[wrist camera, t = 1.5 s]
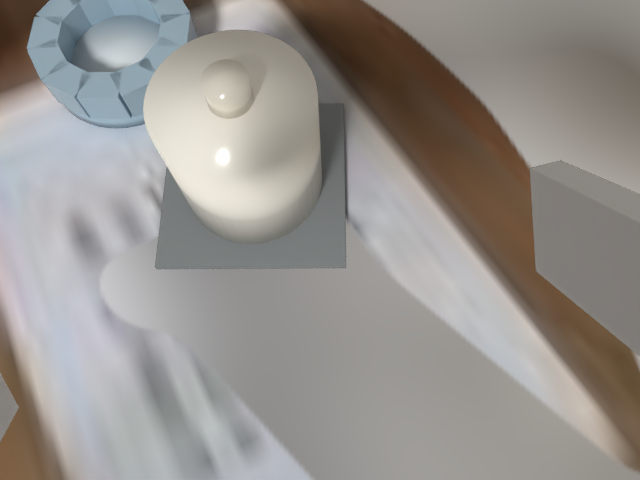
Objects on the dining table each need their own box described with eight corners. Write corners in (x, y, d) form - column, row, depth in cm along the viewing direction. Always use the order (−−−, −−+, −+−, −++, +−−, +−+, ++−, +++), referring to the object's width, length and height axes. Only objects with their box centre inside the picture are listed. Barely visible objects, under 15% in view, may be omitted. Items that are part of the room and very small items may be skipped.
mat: (157, 269, 35) (154, 266, 35) (175, 110, 40) (173, 106, 39) (345, 268, 35) (346, 265, 35) (343, 107, 39) (343, 103, 39)
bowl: (41, 129, 39) (14, 98, 36) (67, 10, 43) (45, -28, 40) (194, 127, 39) (181, 96, 36) (206, 7, 43) (195, -31, 40)
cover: (181, 244, 35) (121, 161, 26) (193, 123, 39) (144, 9, 29) (322, 243, 35) (316, 159, 25) (322, 122, 38) (317, 5, 29)
